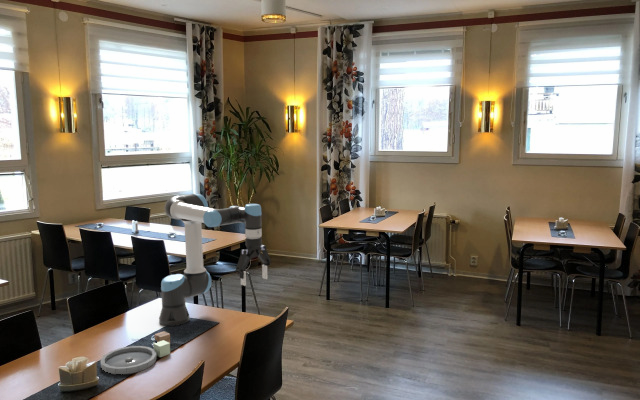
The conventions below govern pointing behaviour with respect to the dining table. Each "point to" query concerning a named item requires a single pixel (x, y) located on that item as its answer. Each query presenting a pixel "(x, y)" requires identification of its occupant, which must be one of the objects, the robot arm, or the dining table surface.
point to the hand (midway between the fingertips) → (254, 281)
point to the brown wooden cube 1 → (162, 336)
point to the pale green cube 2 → (162, 348)
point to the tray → (128, 360)
